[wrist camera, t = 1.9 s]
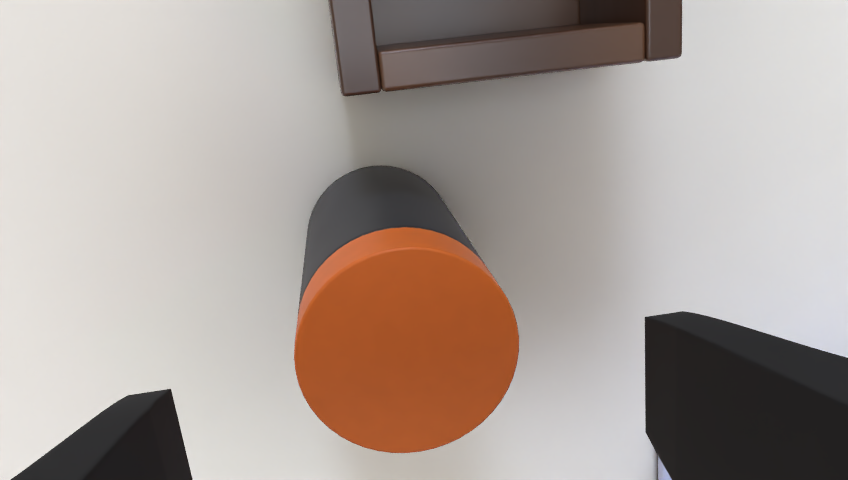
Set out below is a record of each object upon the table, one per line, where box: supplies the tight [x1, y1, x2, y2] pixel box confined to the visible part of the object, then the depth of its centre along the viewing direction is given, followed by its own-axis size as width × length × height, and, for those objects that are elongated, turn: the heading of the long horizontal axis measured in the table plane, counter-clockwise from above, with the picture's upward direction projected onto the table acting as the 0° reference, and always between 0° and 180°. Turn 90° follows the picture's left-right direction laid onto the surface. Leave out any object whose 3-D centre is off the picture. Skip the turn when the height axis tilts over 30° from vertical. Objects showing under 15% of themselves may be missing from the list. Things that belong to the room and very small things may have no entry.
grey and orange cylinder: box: [294, 166, 519, 453], centre depth 16 cm, size 4×4×8 cm
